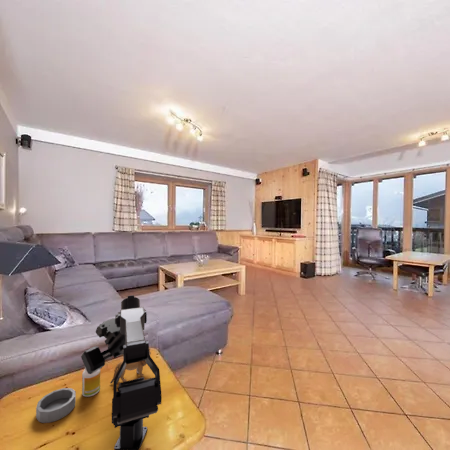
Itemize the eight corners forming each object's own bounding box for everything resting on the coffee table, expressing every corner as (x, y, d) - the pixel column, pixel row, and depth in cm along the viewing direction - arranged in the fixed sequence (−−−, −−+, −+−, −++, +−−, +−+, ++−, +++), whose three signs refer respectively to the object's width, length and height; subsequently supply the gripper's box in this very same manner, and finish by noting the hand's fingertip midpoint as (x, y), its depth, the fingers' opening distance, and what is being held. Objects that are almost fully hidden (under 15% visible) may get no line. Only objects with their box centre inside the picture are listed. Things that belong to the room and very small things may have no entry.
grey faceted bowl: (60, 423, 67) (61, 412, 67) (28, 422, 67) (28, 411, 67) (81, 398, 77) (82, 388, 77) (53, 397, 77) (53, 387, 77)
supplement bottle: (103, 389, 81) (103, 361, 81) (87, 399, 76) (88, 370, 76) (94, 384, 83) (94, 357, 83) (78, 393, 79) (79, 364, 79)
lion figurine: (147, 365, 94) (147, 343, 94) (152, 372, 90) (153, 349, 90) (108, 381, 85) (108, 356, 85) (112, 389, 81) (112, 363, 81)
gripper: (138, 304, 82) (118, 328, 88) (85, 324, 66) (63, 352, 71) (154, 332, 78) (132, 355, 84) (101, 360, 62) (78, 387, 67)
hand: (104, 361), depth 77 cm, fingers open, 9 cm apart
